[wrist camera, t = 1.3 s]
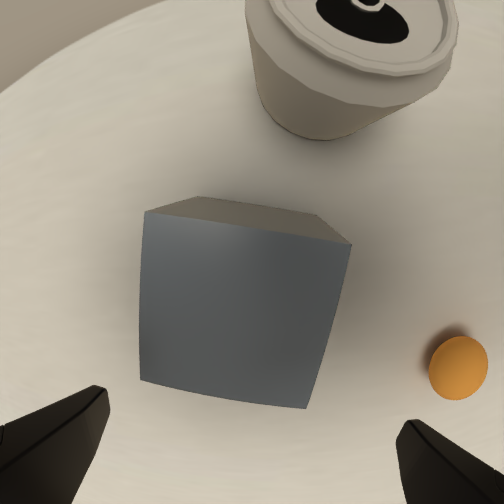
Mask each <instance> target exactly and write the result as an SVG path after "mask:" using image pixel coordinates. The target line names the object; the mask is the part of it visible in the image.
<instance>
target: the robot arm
mask: <svg viewBox="0 0 504 504" xmlns="http://www.w3.org/2000/svg"><path fill="white" fill-rule="evenodd" d="M109 415H110V404H109V398H108V392H107V390H106V389H105V388H103V387H100V386H97V385H92V386H90V387H88V388H86V389H83V390H81V391H79V392H77V393H75V394H73V395H71V396H68V397H66V398H64V399H62V400H60V401H57V402H55V403H53V404H51V405H48V406H46V407H44V408H42V409H39V410H37V411H35V412H32V413H30V414H28V415H25V416H23V417H21V418H18V419H16V420H14V421H11V422H9V423H6V424H5V425H1V426H0V504H72V501H73V499H74V497H75V495H76V493H77V491H78V489H79V487H80V485H81V483H82V481H83V479H84V476H85V474H86V472H87V470H88V468H89V466H90V464H91V462H92V460H93V458H94V456H95V454H96V451H97V449H98V446H99V443H100V440H101V437H102V434H103V432H104V429H105V426H106V423H107V421H108V418H109ZM396 449H397V455H398V462H399V469H400V476H401V482H402V486H403V490H404V494H405V498H406V502H407V504H504V475H503V474H502V473H500V472H499V471H497V470H494V468H492V467H490V466H489V465H487V464H486V463H484V462H483V461H481V460H480V459H478V458H476V457H475V456H473V455H472V454H470V453H469V452H467V451H466V450H464V449H463V448H461V447H459V446H458V445H456V444H455V443H453V442H452V441H450V440H449V439H447V438H446V437H444V436H443V435H441V434H440V433H438V432H437V431H435V430H434V429H433V428H431V427H430V426H428V425H427V424H425V423H424V422H422V421H421V420H419V419H413V420H407V421H406V422H405V424H404V425H403V427H402V429H401V431H400V433H399V435H398V436H397V439H396Z"/></svg>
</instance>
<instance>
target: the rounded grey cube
mask: <svg viewBox="0 0 504 504" xmlns="http://www.w3.org/2000/svg"><path fill="white" fill-rule="evenodd" d="M351 246H352V244H351V243H349V242H348V241H347V240H346V239H345V238H344V237H342V236H341V235H340V234H339V233H338V232H336V231H335V230H334V229H333V228H332V227H330V226H329V225H328V224H327V223H326V222H324V221H323V220H322V219H321V218H319V217H318V216H317V215H313V214H308V213H302V212H296V211H290V210H284V209H278V208H272V207H266V206H260V205H253V204H247V203H240V202H234V201H227V200H220V199H213V198H206V197H199V196H197V197H193V198H190V199H186V200H183V201H179V202H176V203H172V204H169V205H165V206H162V207H158V208H155V209H152V210H148V211H145V214H144V226H143V238H142V253H141V272H140V302H139V355H140V380H143V381H146V382H150V383H154V384H158V385H162V386H166V387H170V388H175V389H179V390H184V391H188V392H193V393H198V394H203V395H208V396H213V397H219V398H224V399H230V400H236V401H243V402H249V403H257V404H264V405H272V406H281V407H290V408H300V409H306V408H307V405H308V402H309V399H310V396H311V393H312V390H313V387H314V384H315V381H316V378H317V375H318V371H319V368H320V365H321V362H322V358H323V355H324V352H325V348H326V345H327V341H328V338H329V334H330V331H331V327H332V324H333V320H334V316H335V313H336V309H337V305H338V301H339V297H340V293H341V289H342V285H343V281H344V277H345V272H346V268H347V264H348V259H349V255H350V250H351Z"/></svg>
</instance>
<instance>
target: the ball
mask: <svg viewBox="0 0 504 504" xmlns="http://www.w3.org/2000/svg"><path fill="white" fill-rule="evenodd" d="M487 370H488V359H487V355H486V352H485V350H484V348H483V346H482V345H481V344H480V343H479V342H478V341H476V340H475V339H473V338H470V337H466V336H458V337H454V338H451V339H449V340H447V341H445V342H444V343H443V344H441V345H440V346H439V347H438V348H437V350H436V351H435V353H434V354H433V356H432V358H431V361H430V365H429V380H430V383H431V385H432V387H433V389H434V390H435V391H436V393H437V394H439V395H440V396H441V397H443V398H445V399H449V400H461V399H464V398H467V397H469V396H470V395H472V394H473V393H475V392H476V391H477V390H478V389H479V388H480V386H481V385H482V383H483V382H484V379H485V377H486V374H487Z"/></svg>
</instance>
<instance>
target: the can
mask: <svg viewBox="0 0 504 504" xmlns="http://www.w3.org/2000/svg"><path fill="white" fill-rule="evenodd" d="M245 17H246V23H247V29H248V35H249V41H250V47H251V53H252V60H253V66H254V72H255V79H256V86H257V90H258V93H259V96H260V98H261V101H262V104H263V106H264V107H265V109H266V110H267V111H268V113H269V114H270V115H271V117H272V118H273V119H274V120H275V121H276V122H277V123H279V124H280V125H281V126H283V127H284V128H286V129H287V130H288V131H290V132H292V133H294V134H297V135H300V136H303V137H305V138H308V139H319V140H332V139H336V138H340V137H344V136H348V135H349V134H351V133H353V132H355V131H357V130H359V129H361V128H363V127H365V126H367V125H369V124H371V123H373V122H375V121H377V120H379V119H381V118H383V117H385V116H387V115H389V114H391V113H393V112H395V111H397V110H399V109H401V108H403V107H405V106H407V105H410V104H412V103H414V102H415V101H417V100H419V99H420V98H422V97H424V96H425V95H427V94H429V93H430V92H432V91H434V90H435V89H437V87H438V86H439V84H440V83H441V81H442V80H443V78H444V77H445V75H446V74H447V72H448V71H449V69H450V66H451V60H452V54H453V49H454V47H455V46H456V43H457V35H458V27H459V22H458V18H457V14H456V10H455V6H454V2H453V0H245Z"/></svg>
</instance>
